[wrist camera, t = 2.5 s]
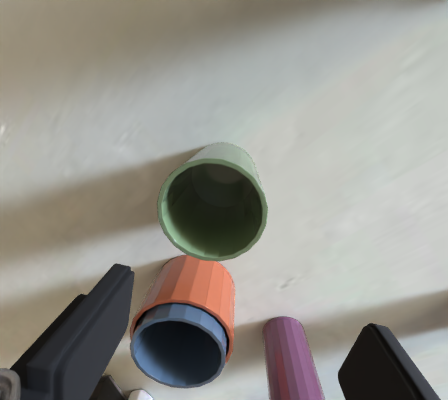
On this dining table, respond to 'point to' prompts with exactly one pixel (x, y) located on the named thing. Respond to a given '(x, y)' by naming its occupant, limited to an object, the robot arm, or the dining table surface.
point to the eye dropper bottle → (139, 395)
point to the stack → (179, 345)
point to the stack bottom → (194, 291)
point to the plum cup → (289, 362)
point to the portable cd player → (107, 390)
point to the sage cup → (214, 204)
